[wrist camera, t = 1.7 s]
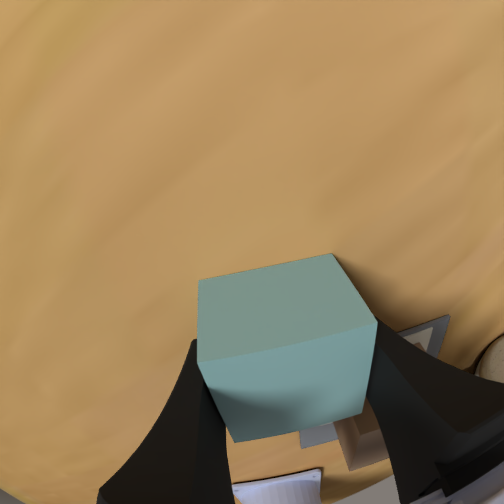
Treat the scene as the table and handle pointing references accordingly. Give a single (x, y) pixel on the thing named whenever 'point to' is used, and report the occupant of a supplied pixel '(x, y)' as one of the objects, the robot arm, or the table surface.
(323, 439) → the mat
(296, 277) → the teal block
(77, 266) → the table surface
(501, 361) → the ceramic mug
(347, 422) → the walnut block
